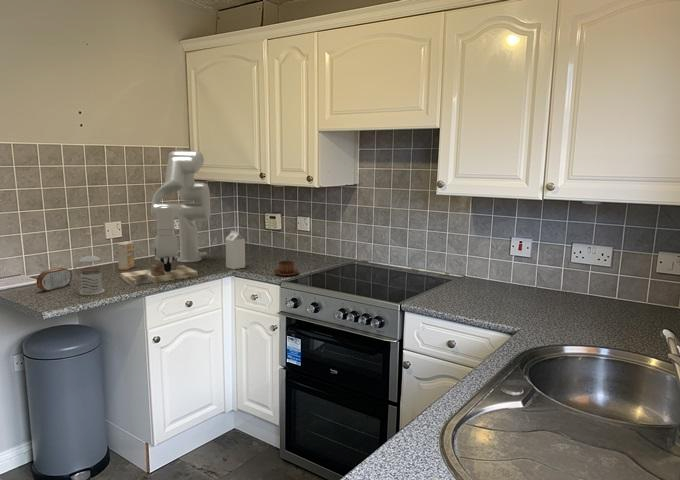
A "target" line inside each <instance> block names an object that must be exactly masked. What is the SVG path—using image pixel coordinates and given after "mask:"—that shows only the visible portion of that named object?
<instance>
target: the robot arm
mask: <svg viewBox="0 0 680 480" xmlns="http://www.w3.org/2000/svg"><path fill="white" fill-rule="evenodd" d="M204 158H205V157H204V154H203V153H202V152H201V151H199V150H198V151H197V150H196V151H195V150H174V151H170V152H169V153H168V160H167V166H166V171H165V172H166V173H165V179H164V183H163V184H162V185H160V187H158V189H157V190H156V191H155V192H154V194H153V196H152V199H151V205H150V215H151V217H152V219H154V220H156V231H157V233H156V234H157V235H154V243H153V252H154V253H153V254H154V260H155V261H160V262H161V263H162V265H164V270H165V272H170V271H171V270H172V263H173V261H174V260H175V259H177V262H179V263H185V264H188V263H197V262H200V261H202V257H206V256H208V253H207V251H204V252H202V251H199V234H198V226H197V225H196V224H195V222H194V221H196V222H197V221H201V222H202V221H209V219H210V218H211V212H212V211H211V194H210V188H209V185H208V184H207V183H205V182H196V181H195V174H197V173H198V172H199V171H200V170H201V168H202V167H203V165H204ZM176 192H177V193H178V198H179V199H180V200H181V201H194V202H182V203H179V204H178V203H162V202H161V201H162V200H163V199H164V198H166V197H167V196H169V195H171V194H174V193H176ZM195 201H197V202H195ZM177 220H178V228H179V229H177V228H175V221H177ZM178 231H179V243H178V237H177V234H176V233H178Z"/></svg>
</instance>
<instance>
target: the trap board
mask: <svg viewBox="0 0 680 480" xmlns="http://www.w3.org/2000/svg"><path fill="white" fill-rule="evenodd" d="M119 274H120V279H121V280H122V281H124V282H126V283H127V284H128V285H130V286H131V287H137V286H143V285H149V284H155V283H162V282H163V281H164V282H169V280H171V281H175V279H177V280H183V279H182V278H184V279H189V278H188V277H191V278H198V270H195V269H193V268H191V267H188V266H186V265H184V264H181V265H176V269H174V270H173V269H171V270H170V272H165V270H164V274H165V275H161V276H153V275H151V268H149V269H142V270H136V271H130V272H121V273H119Z"/></svg>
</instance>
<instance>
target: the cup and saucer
mask: <svg viewBox="0 0 680 480" xmlns="http://www.w3.org/2000/svg"><path fill="white" fill-rule="evenodd" d="M294 265H295V262H294V261H291V260H281V261H278V268H276V269H274V271H273V273H274V274H275V275H278V276H283V277H290V276H294V275H297V274H298V273H299V269H297V268H294Z"/></svg>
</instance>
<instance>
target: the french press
mask: <svg viewBox="0 0 680 480" xmlns="http://www.w3.org/2000/svg"><path fill="white" fill-rule="evenodd" d="M85 236H86V237H87V238H88V240H87V242H88V244H90V239H89V237H90V236H92V234H91V233H90V232H86V233H85ZM101 260H102V259H101V258H100V257H99V256H97V255H92V254H91V250H90V248H88V255H86V256H83V257H81V258H80V259H78V261H79V262H78V263H77V264H75V265H74V266H73V268H72V274H73V276H74V278H75V279H76V280H78V281H79V282H80V291H79V292H78V294H79V295H82V296H92V295H99V294H102V293H104V292H105V291H106V290H105V289H104V288H103V283H102V282H103V281H102V271H101V270H100V269H101V268H100V267H97V266H96V267H95V266H93V267H92V265H91V263H96V262H100V261H101ZM83 263H85V264H86V263H89V267H84V268H81V267H82V265H83ZM78 265H79V267H80V268H81V269H80V271H81V273H80V274H79V275H80V277H79V276H78V275H77V272H76V269H77V266H78Z"/></svg>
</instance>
